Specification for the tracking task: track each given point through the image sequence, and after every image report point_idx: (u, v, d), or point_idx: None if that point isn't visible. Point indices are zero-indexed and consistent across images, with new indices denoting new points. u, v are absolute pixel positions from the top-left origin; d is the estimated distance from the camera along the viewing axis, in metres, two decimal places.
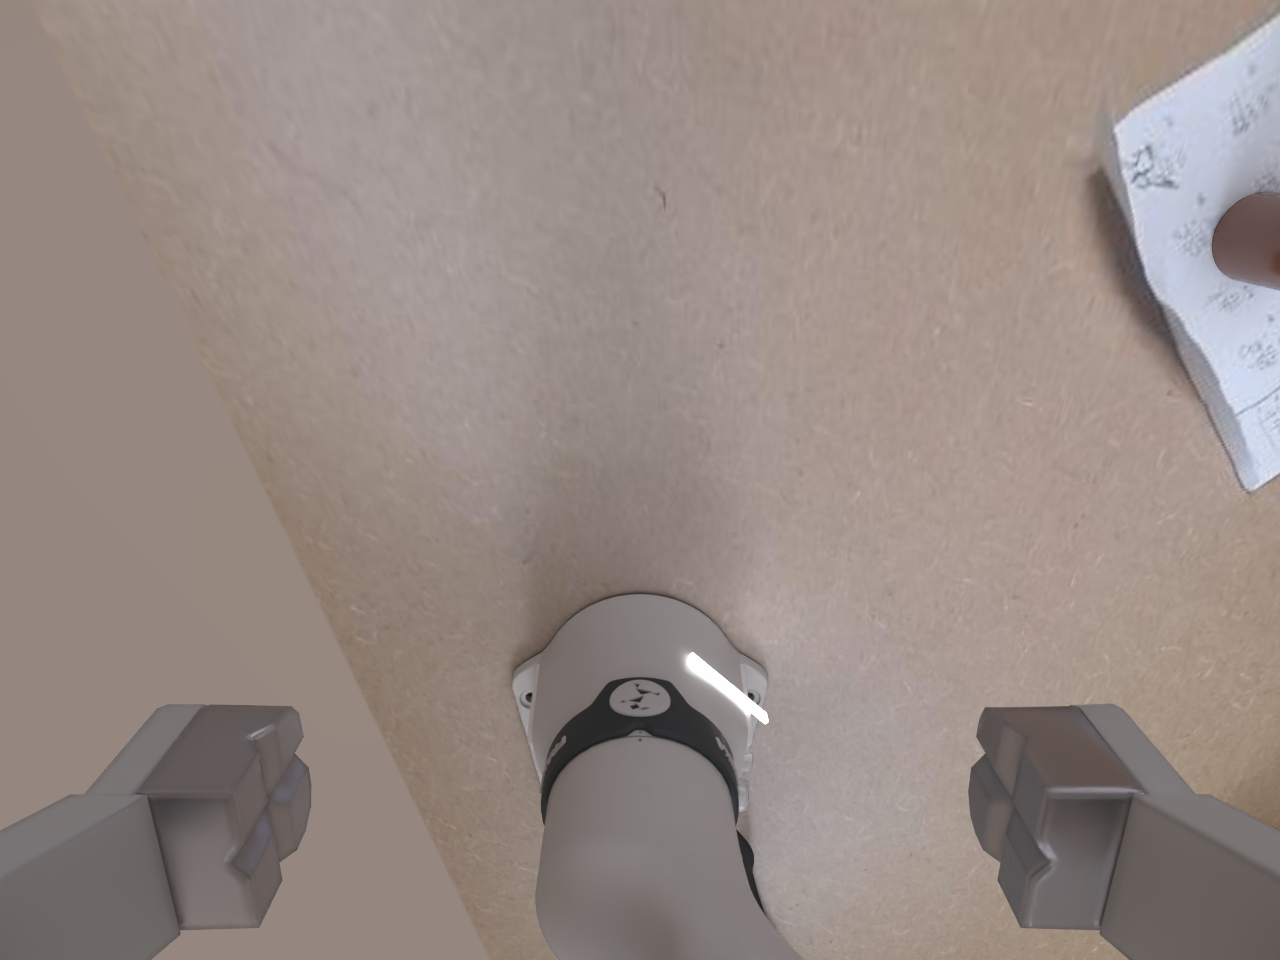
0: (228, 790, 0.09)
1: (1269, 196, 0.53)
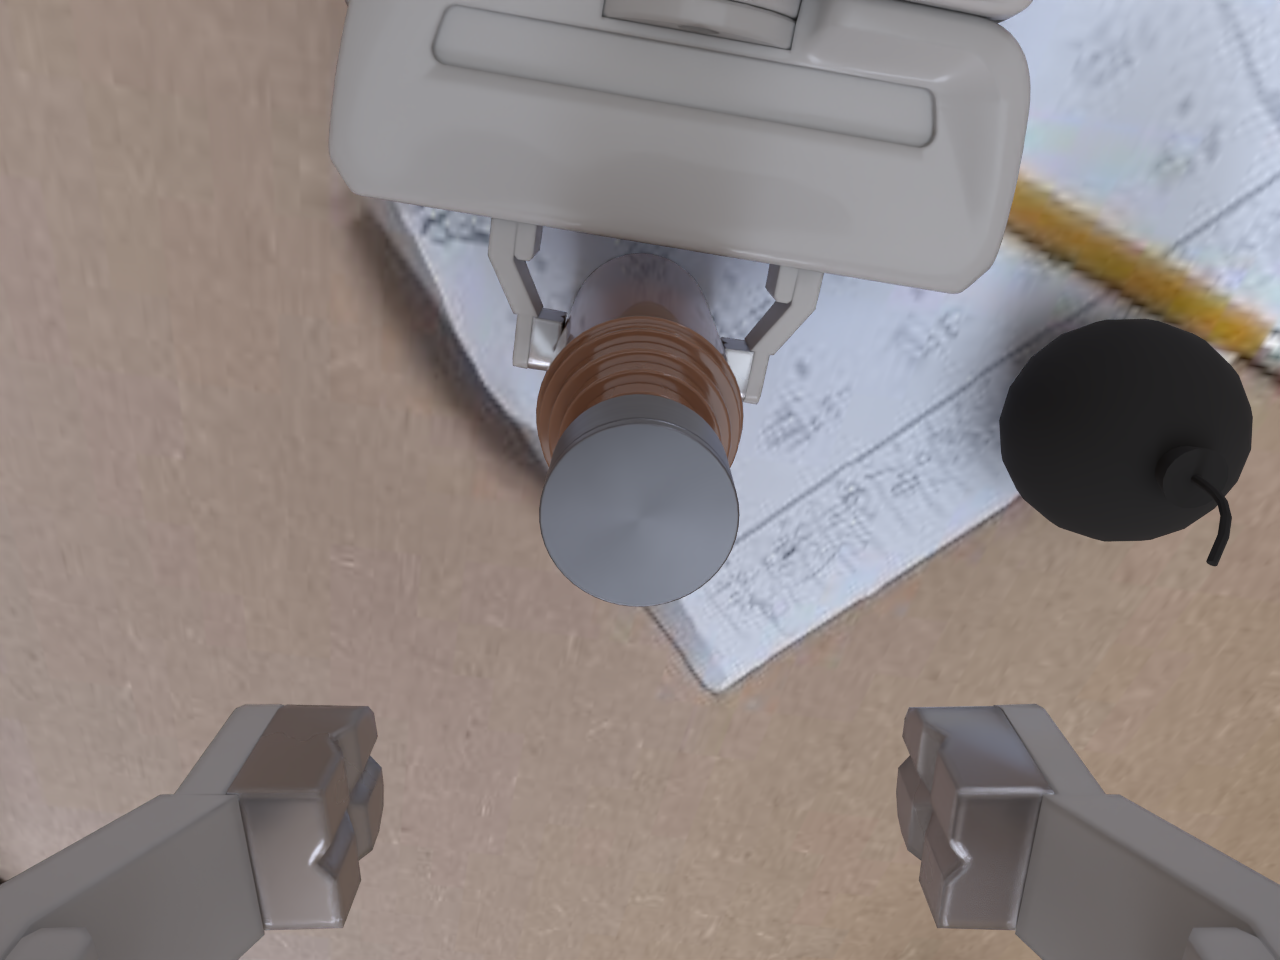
0: (317, 789, 0.09)
1: (616, 263, 0.32)
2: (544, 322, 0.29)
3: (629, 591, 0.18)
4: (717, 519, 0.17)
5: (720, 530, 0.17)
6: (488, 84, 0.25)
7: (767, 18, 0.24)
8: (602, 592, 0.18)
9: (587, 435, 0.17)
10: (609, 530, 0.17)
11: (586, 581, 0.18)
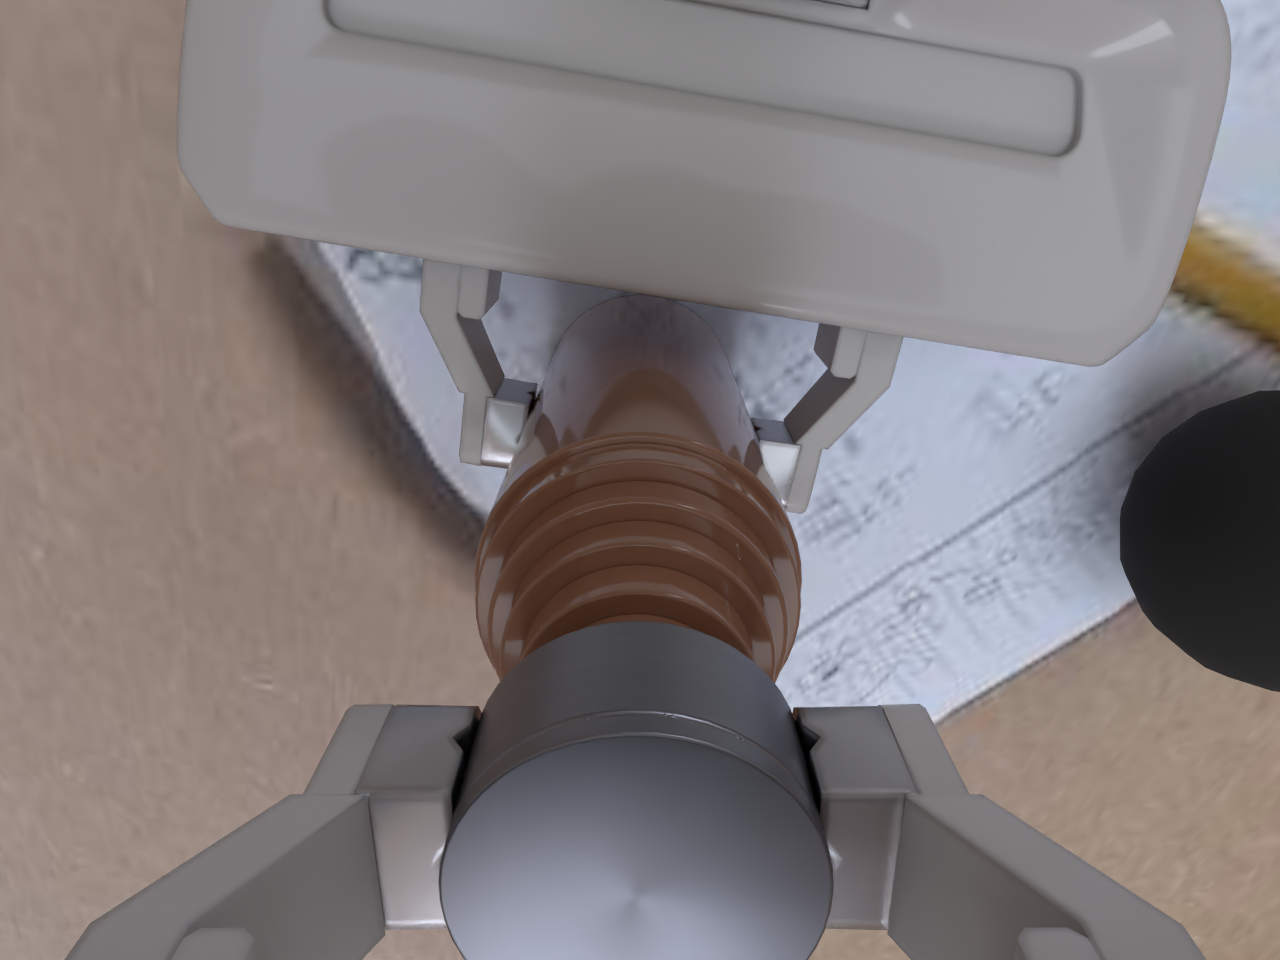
0: (445, 790, 0.09)
1: (606, 310, 0.24)
2: (503, 404, 0.20)
3: None
4: (790, 898, 0.09)
5: (795, 917, 0.09)
6: (410, 62, 0.17)
7: None
8: None
9: (530, 751, 0.08)
10: (577, 916, 0.09)
11: None
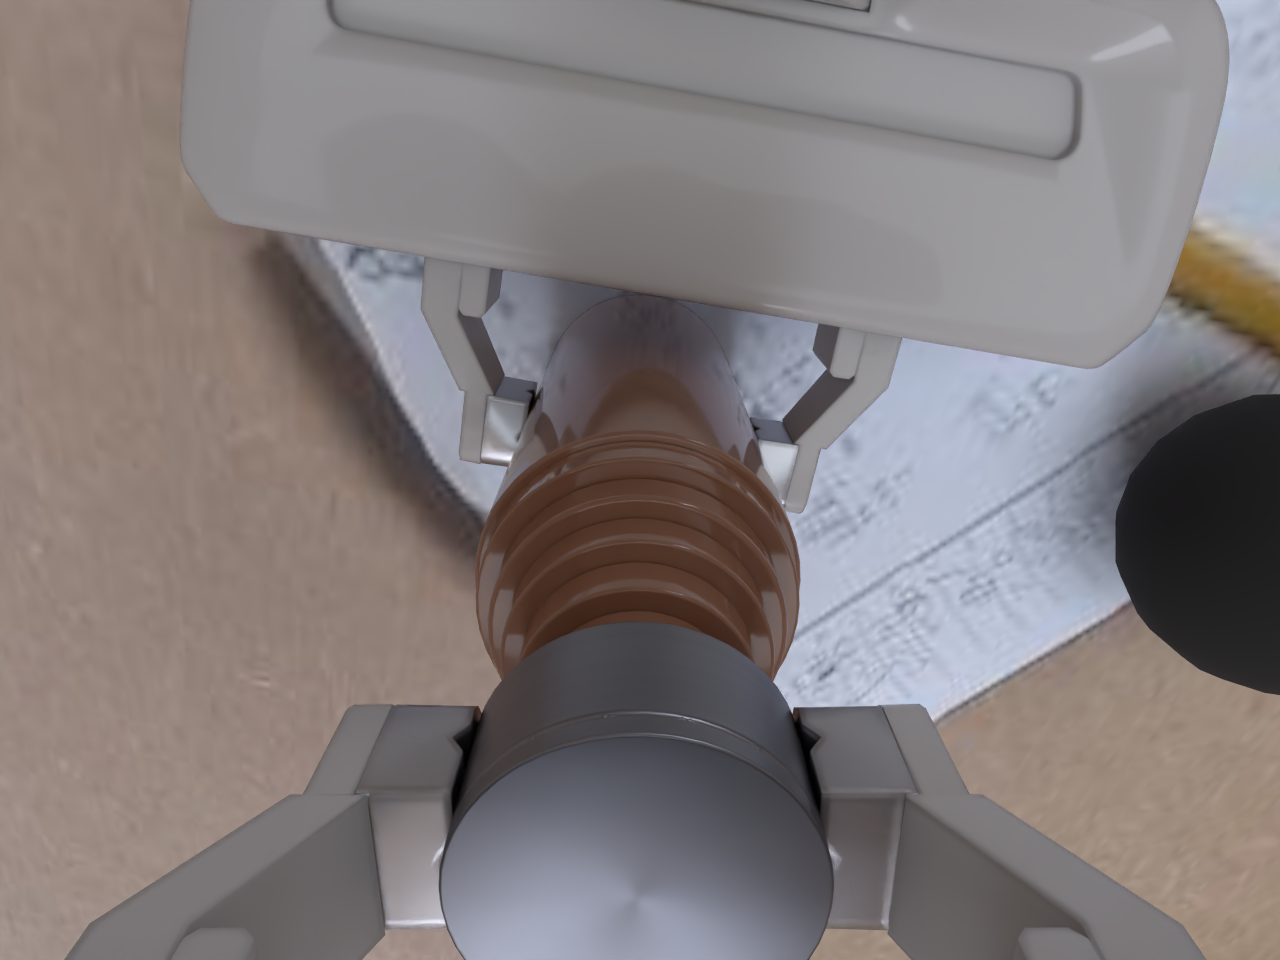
0: (445, 790, 0.09)
1: (606, 310, 0.24)
2: (503, 402, 0.20)
3: (793, 923, 0.09)
4: (651, 772, 0.08)
5: (677, 769, 0.08)
6: (413, 61, 0.17)
7: None
8: None
9: None
10: (655, 944, 0.09)
11: None
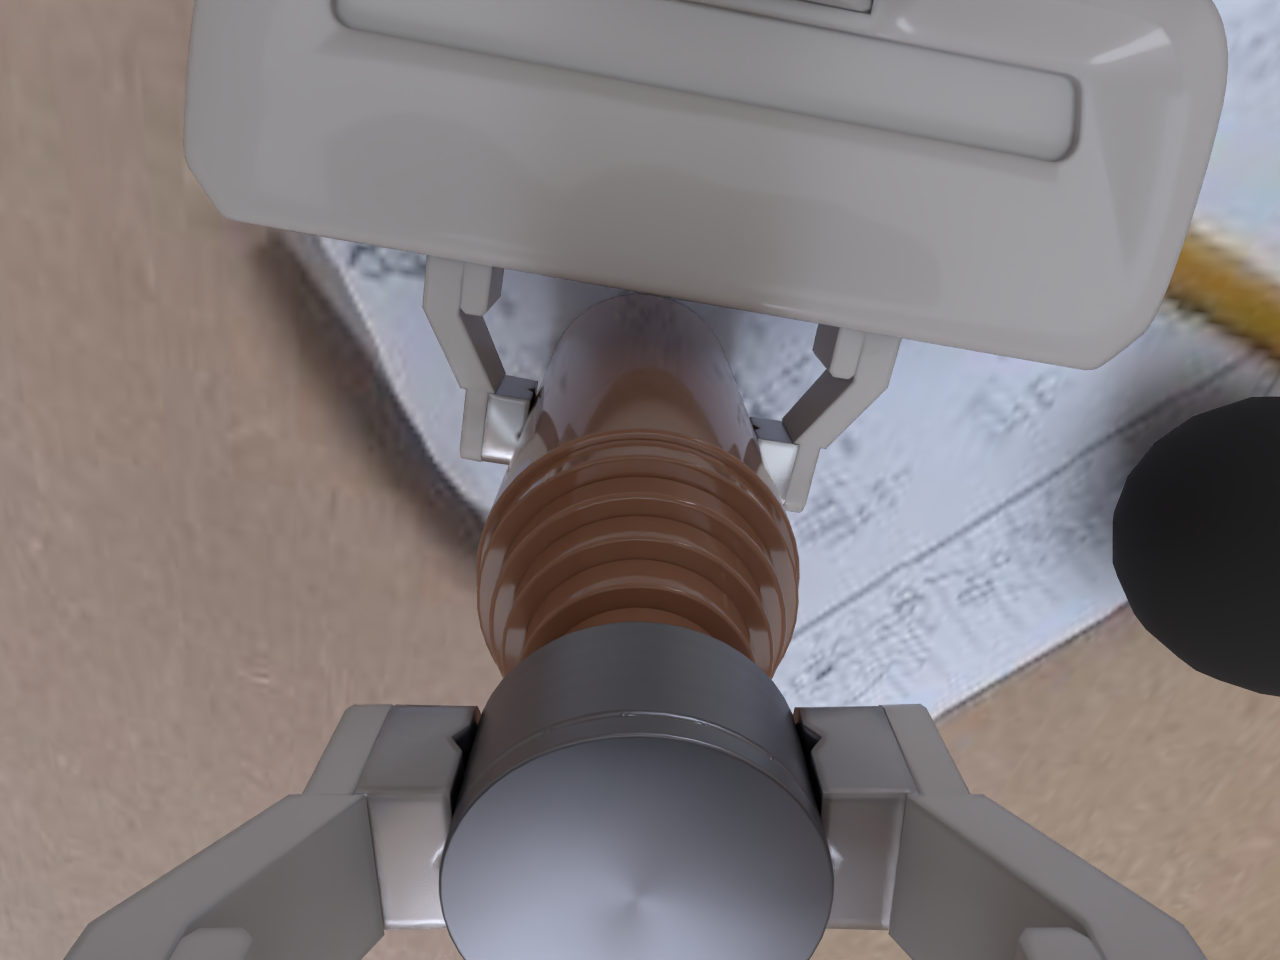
0: (444, 790, 0.09)
1: (607, 309, 0.24)
2: (504, 400, 0.20)
3: (687, 770, 0.08)
4: (482, 876, 0.09)
5: (478, 858, 0.08)
6: (417, 60, 0.17)
7: None
8: (747, 777, 0.08)
9: None
10: (699, 888, 0.09)
11: (772, 809, 0.08)
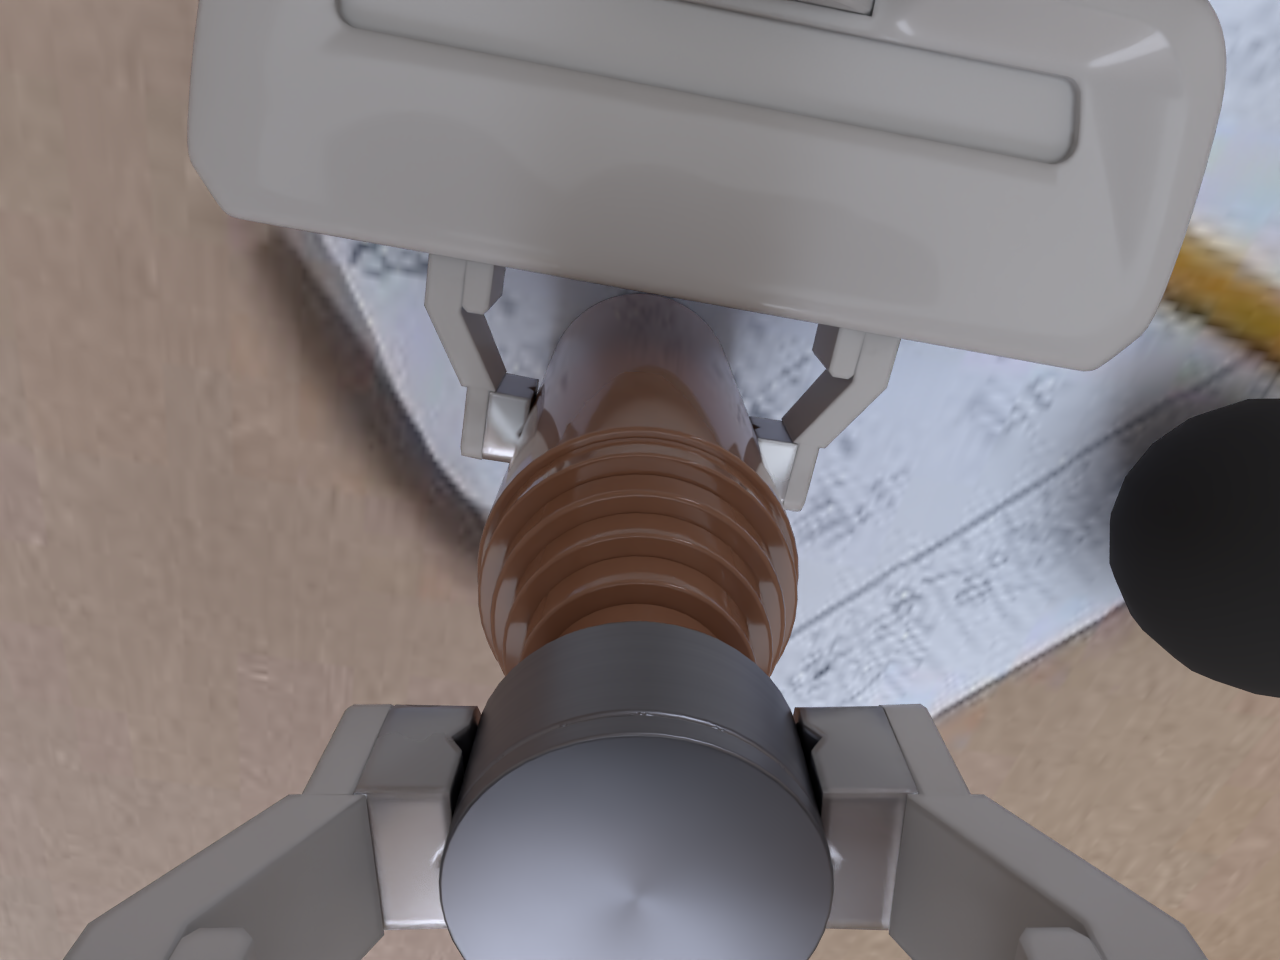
0: (445, 790, 0.09)
1: (607, 308, 0.24)
2: (505, 398, 0.20)
3: (481, 849, 0.08)
4: None
5: None
6: (421, 59, 0.17)
7: None
8: (491, 804, 0.08)
9: (829, 852, 0.09)
10: (628, 849, 0.08)
11: (526, 788, 0.08)
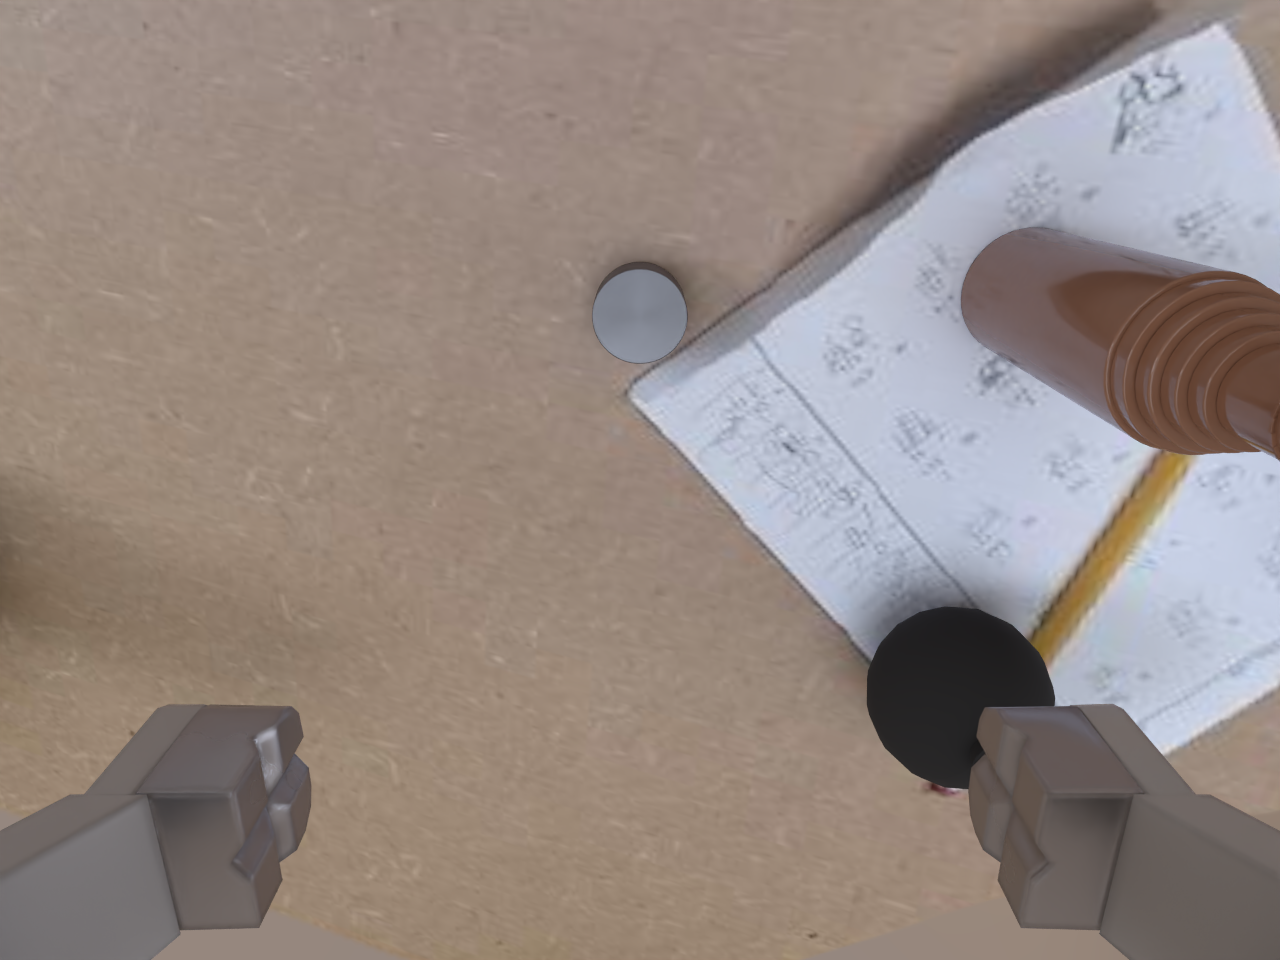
0: (228, 789, 0.09)
1: None
2: None
3: (621, 351, 0.37)
4: (674, 330, 0.36)
5: (673, 336, 0.36)
6: None
7: None
8: (609, 347, 0.37)
9: (631, 269, 0.35)
10: (624, 317, 0.36)
11: (604, 338, 0.36)
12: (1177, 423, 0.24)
